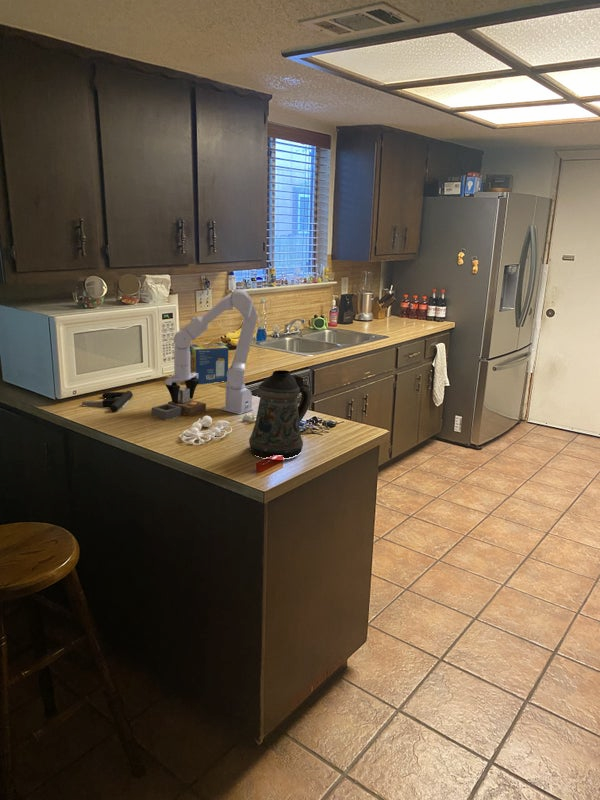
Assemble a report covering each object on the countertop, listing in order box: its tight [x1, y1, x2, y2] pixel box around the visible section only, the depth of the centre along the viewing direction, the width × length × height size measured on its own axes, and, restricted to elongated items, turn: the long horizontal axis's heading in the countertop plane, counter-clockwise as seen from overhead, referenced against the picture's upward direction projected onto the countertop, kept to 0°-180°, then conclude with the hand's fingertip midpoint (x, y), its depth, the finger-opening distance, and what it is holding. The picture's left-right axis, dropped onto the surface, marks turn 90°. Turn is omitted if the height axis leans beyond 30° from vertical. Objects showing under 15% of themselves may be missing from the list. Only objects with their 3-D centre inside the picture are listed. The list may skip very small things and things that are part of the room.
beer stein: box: [248, 369, 312, 458], centre depth 183 cm, size 16×19×25 cm
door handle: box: [81, 390, 135, 413], centre depth 224 cm, size 3×20×16 cm
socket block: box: [167, 399, 207, 417], centre depth 220 cm, size 11×8×3 cm
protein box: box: [189, 342, 229, 385], centre depth 262 cm, size 10×15×16 cm
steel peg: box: [178, 386, 191, 404], centre depth 221 cm, size 4×4×8 cm
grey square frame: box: [151, 403, 182, 421], centre depth 214 cm, size 7×7×3 cm
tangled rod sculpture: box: [178, 415, 233, 446], centre depth 195 cm, size 19×14×4 cm
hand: (182, 400), depth 221 cm, fingers open, 7 cm apart
